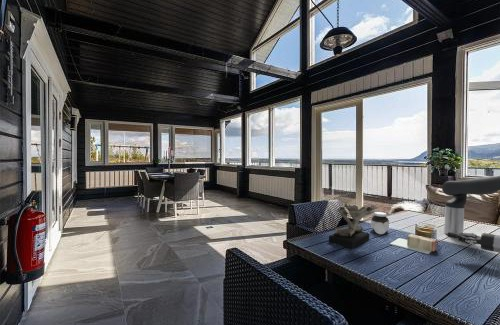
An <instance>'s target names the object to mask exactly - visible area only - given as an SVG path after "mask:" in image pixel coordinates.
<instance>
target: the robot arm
mask: <svg viewBox="0 0 500 325" xmlns="http://www.w3.org/2000/svg"><path fill="white" fill-rule="evenodd" d="M441 190H442V192H443V194H445V195H447V196H449V197H452V198H450V199H449V200H446V201H445V210H444V211H445V212H444V233H443V234H445V235H447V237H448V238H452V239H457V241H459V242H460V243H463V244H467V245H480V249H481V250H484V251H489V252H494V253H499V254H500V235H499V234H492V233H487V232H482V233H481V235H477V234H475V233H473V232H471V233H469V232H464V223H465V206H466V204H467V198H468V195H476V196H477V195H480V196H481V195H483V196H484V195H493V194H496V193H498V192H499V191H500V175H495V176H493V175H492V176H490V175H489V176H483V177H476V178H475V177H474V178H469V179H464V180H447V181H445V182H444V183H443V184H442V186H441Z"/></svg>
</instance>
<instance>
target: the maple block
mask: <svg viewBox="0 0 500 325" xmlns="http://www.w3.org/2000/svg"><path fill="white" fill-rule="evenodd" d="M406 240H407V245H409V246H413V247H417V248H421V249H425V250H429V251H432V252H435V251H436V250H437V239H436V238H431V237H427V236H426V237H425V236H420V235H417V234H412V233H411V234H408V235H407V238H406Z"/></svg>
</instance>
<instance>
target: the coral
mask: <svg viewBox="0 0 500 325" xmlns="http://www.w3.org/2000/svg"><path fill="white" fill-rule="evenodd" d="M377 208H378V207H377V206H376V205H372V204H371V205H370V206H367V207H366V206H362V207H360V208H359V207H358V205H355V204H353V205H351V204H347V203H344V205H343V206H341V207H339V208H337V211H338V213H339V214H340V216H341V217H342V218H343V219H344V220H345V221H346V223H347V228H335V230H334V233H333V234H330V235H329V236H328V243H330V244H334V245H338V246H340V247H344V248H347V249H350V250H352V249H355V248H357V247H358V246H360V245H362V244H363V243H365V242H367V241H369V240H370V233H369V232H365V231H363V230H364V229H363V227H362V225H359V222H360V221H361V220H362V219H364V217H367V216H369V215H370V216H371V215H372V214H374V212H375V210H376V209H377ZM348 214H349V215H350V217H351V218H352V221H351V219H350V218H349V217H348Z"/></svg>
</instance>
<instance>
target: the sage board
mask: <svg viewBox="0 0 500 325" xmlns="http://www.w3.org/2000/svg"><path fill="white" fill-rule="evenodd" d="M389 245H391V246H394V247H399V248H403V249H407V250H411V251H414V252H417V253H418V252H419V253H422V254H426V255H430V254H431V253H432V252H433V251H429V250H425V249H421V248H417V247H413V246H409V245H407V238H406V239H405V238H401V237H399V238H397V239H395V240H393V241H392V242H390V243H389Z"/></svg>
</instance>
